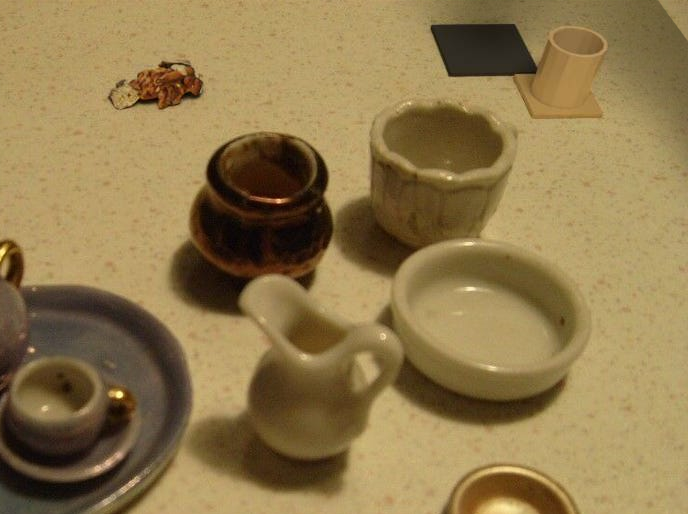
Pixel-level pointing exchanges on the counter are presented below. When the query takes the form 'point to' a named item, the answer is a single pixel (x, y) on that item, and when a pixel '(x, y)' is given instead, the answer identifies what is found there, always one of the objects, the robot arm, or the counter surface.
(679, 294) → the counter surface
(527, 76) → the cream mat
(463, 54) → the slate mat
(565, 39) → the cream cup
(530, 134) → the counter surface
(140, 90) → the pastry
